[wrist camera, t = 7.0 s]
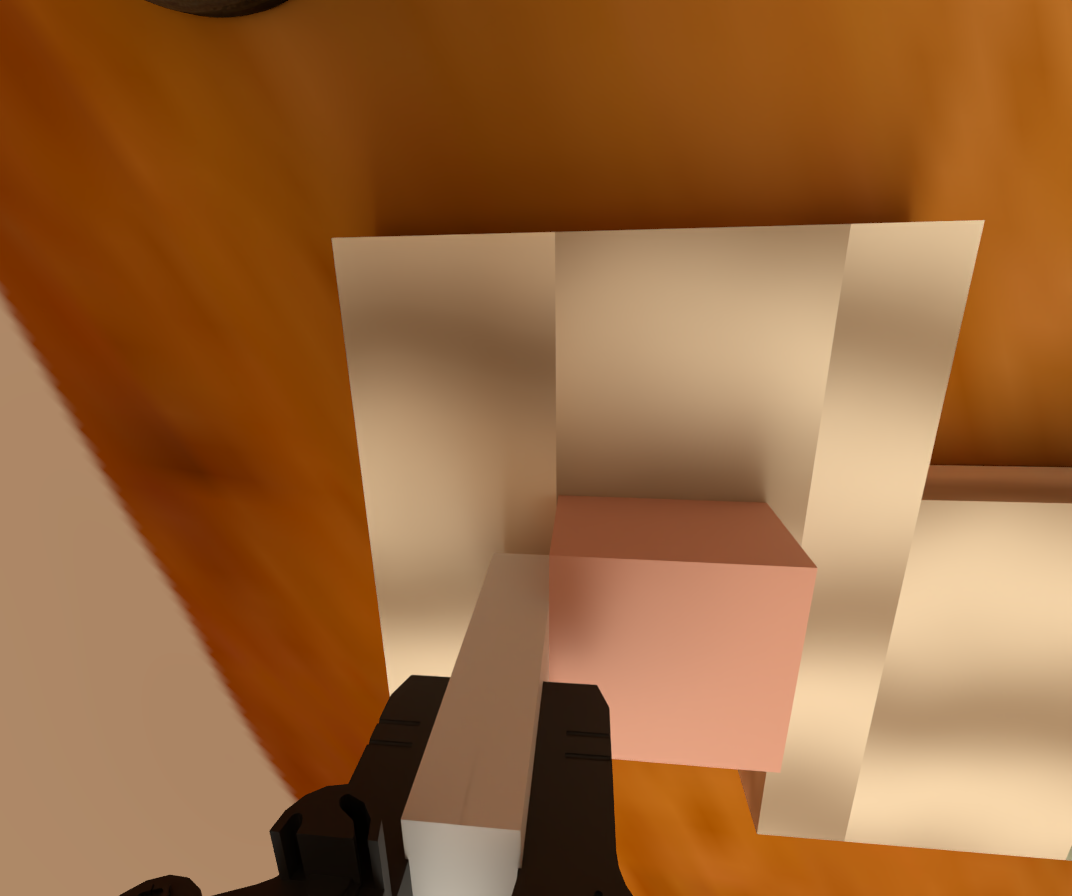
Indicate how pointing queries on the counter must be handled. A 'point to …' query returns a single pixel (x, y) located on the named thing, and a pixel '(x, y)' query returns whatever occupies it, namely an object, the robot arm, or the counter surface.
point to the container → (219, 6)
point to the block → (681, 624)
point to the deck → (738, 487)
